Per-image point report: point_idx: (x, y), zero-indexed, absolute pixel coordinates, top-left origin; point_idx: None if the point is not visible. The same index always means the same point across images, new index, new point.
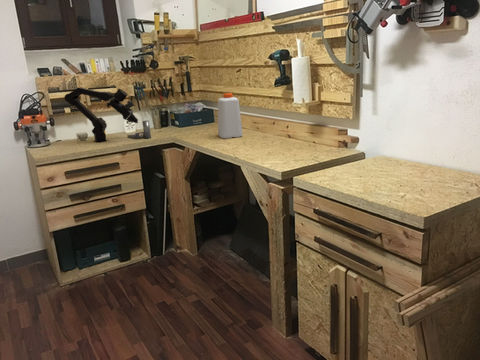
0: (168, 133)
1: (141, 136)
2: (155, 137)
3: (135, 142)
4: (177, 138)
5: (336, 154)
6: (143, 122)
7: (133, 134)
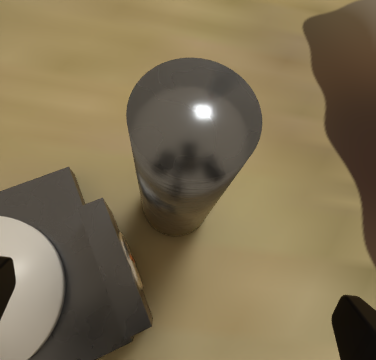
0: (55, 7)
1: (134, 260)
2: None
3: (332, 352)
4: (317, 6)
5: None
6: (236, 173)
7: (29, 356)
